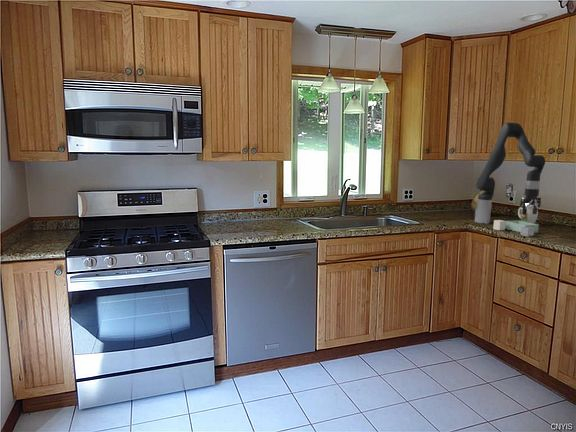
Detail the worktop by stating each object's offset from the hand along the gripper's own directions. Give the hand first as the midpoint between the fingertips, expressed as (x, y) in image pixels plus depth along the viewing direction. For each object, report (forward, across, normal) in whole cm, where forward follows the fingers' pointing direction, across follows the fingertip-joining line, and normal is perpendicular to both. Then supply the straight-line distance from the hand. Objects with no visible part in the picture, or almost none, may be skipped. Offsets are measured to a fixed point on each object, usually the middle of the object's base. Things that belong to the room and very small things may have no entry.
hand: (529, 214), depth 251 cm
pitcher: (+13, -41, -34) cm, 55 cm away
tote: (+13, -9, -12) cm, 20 cm away
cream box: (+13, +1, -20) cm, 24 cm away
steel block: (+13, 0, 0) cm, 13 cm away
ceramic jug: (+13, -38, -74) cm, 84 cm away
